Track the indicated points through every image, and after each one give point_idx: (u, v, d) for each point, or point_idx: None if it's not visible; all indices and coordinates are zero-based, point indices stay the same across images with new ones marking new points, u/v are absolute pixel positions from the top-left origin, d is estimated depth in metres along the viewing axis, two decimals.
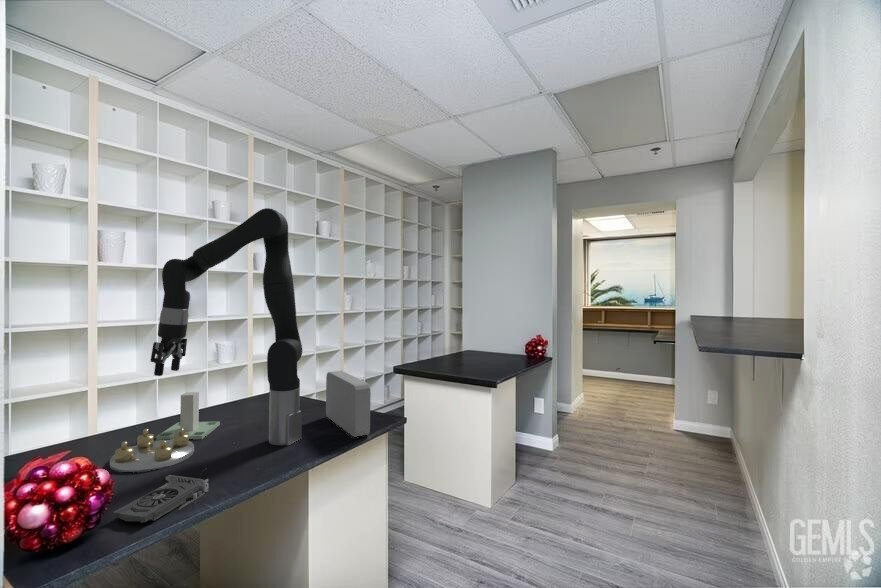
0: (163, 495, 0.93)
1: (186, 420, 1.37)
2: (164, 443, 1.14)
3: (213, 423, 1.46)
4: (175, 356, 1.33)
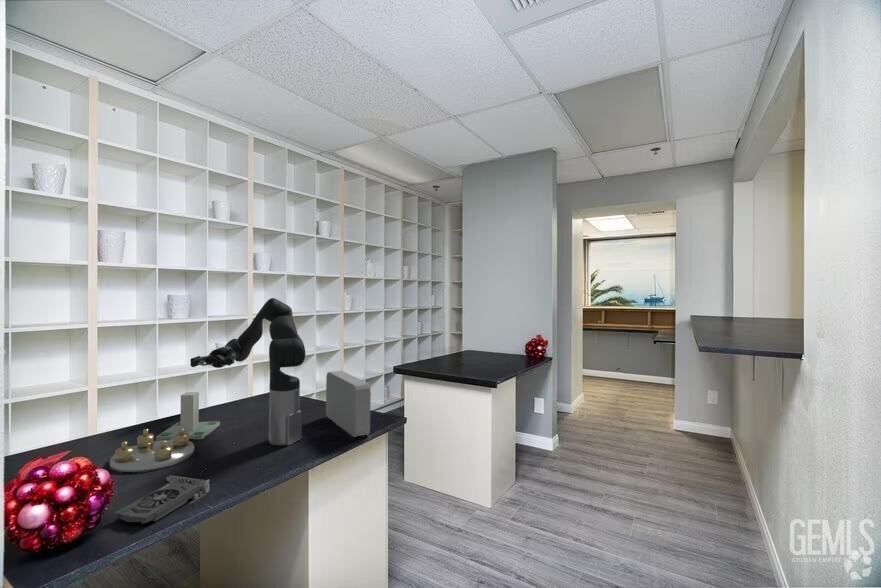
0: (164, 496, 0.92)
1: (186, 420, 1.37)
2: (164, 443, 1.14)
3: (213, 423, 1.46)
4: None
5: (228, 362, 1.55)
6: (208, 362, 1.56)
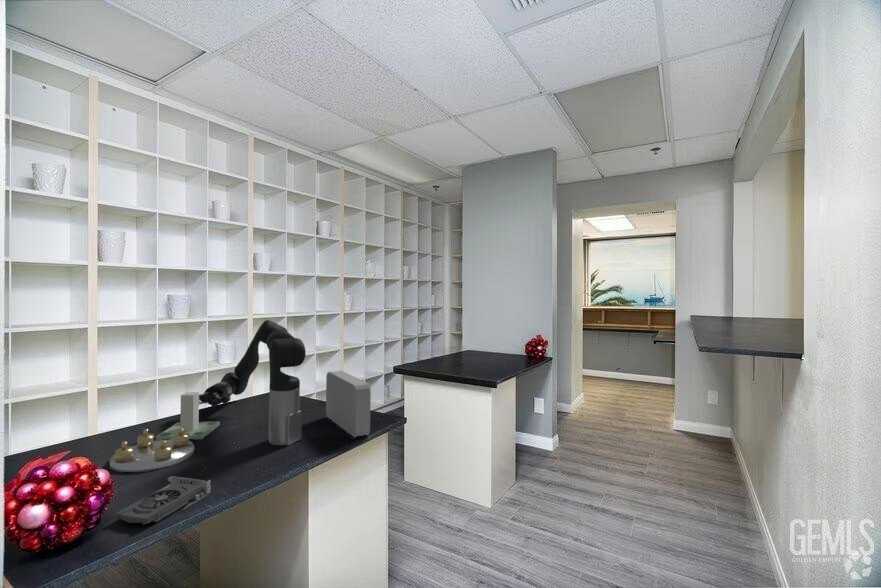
0: (165, 496, 0.92)
1: (186, 420, 1.37)
2: (164, 443, 1.14)
3: (213, 423, 1.46)
4: None
5: (224, 401, 1.52)
6: (203, 401, 1.52)
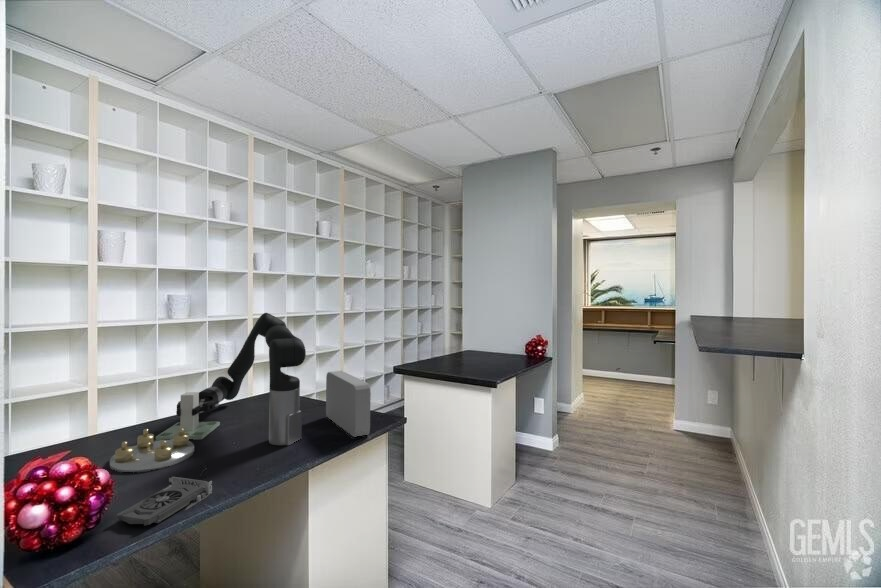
0: (167, 497, 0.92)
1: (186, 420, 1.37)
2: (164, 443, 1.14)
3: (213, 423, 1.46)
4: None
5: (205, 409, 1.41)
6: None
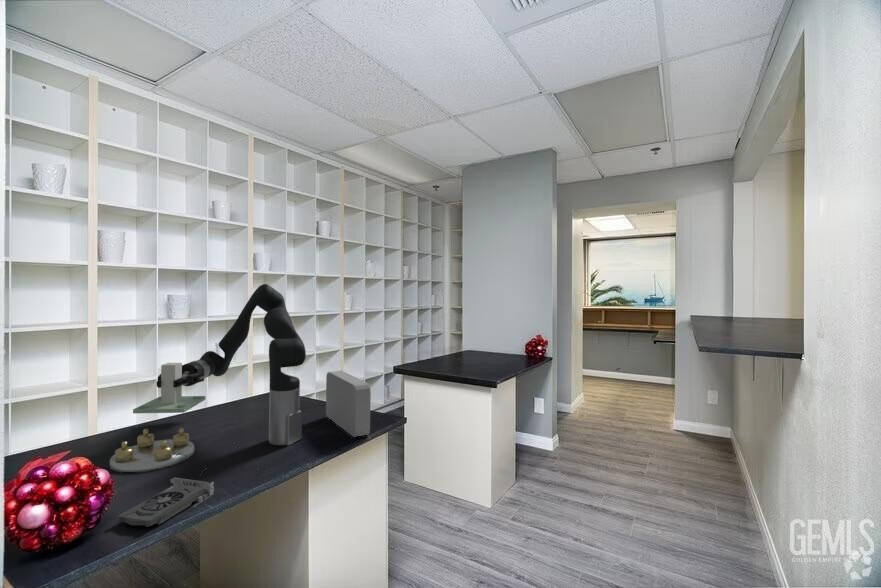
0: (168, 498, 0.91)
1: (167, 392, 1.25)
2: (164, 443, 1.14)
3: (198, 397, 1.34)
4: None
5: (189, 381, 1.29)
6: None
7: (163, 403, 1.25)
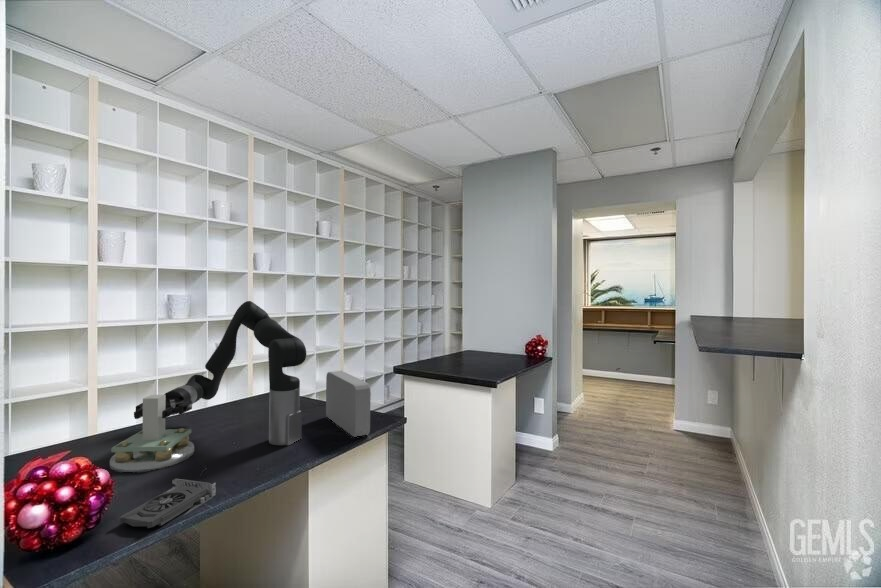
0: (170, 499, 0.91)
1: (149, 428, 1.17)
2: (164, 443, 1.14)
3: None
4: None
5: (179, 410, 1.21)
6: None
7: (145, 439, 1.16)
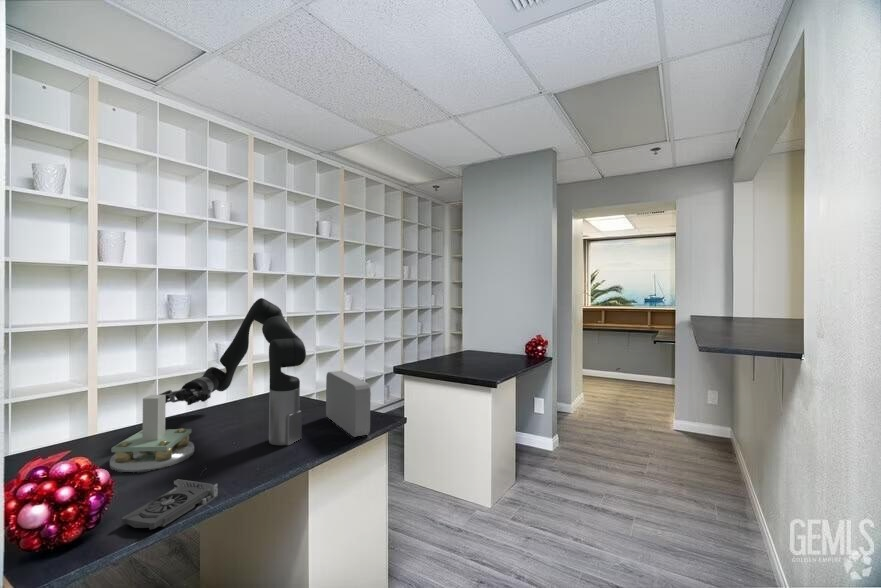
0: (172, 500, 0.90)
1: (149, 428, 1.17)
2: (164, 443, 1.14)
3: None
4: None
5: (202, 398, 1.35)
6: (179, 398, 1.35)
7: (145, 439, 1.16)
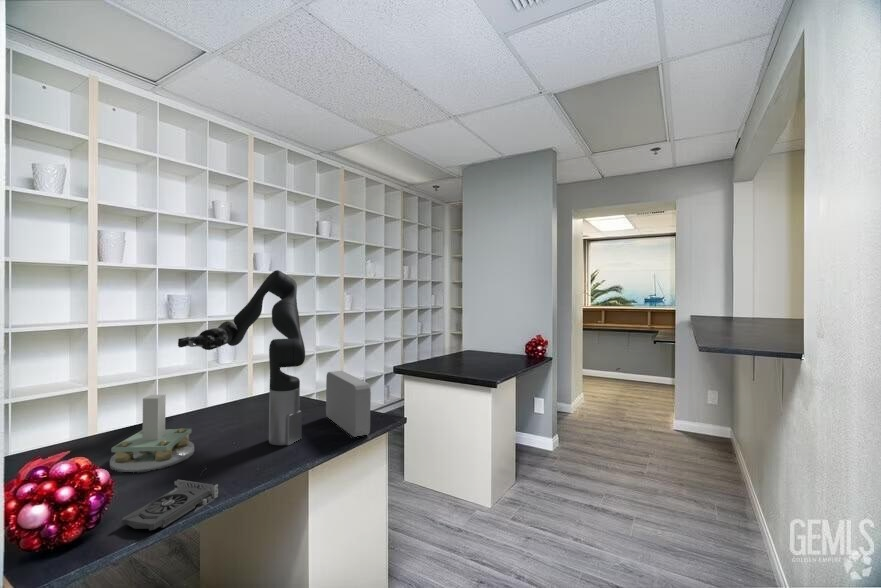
0: (172, 501, 0.90)
1: (149, 428, 1.17)
2: (164, 443, 1.14)
3: None
4: None
5: (219, 343, 1.44)
6: (197, 343, 1.45)
7: (145, 439, 1.16)
